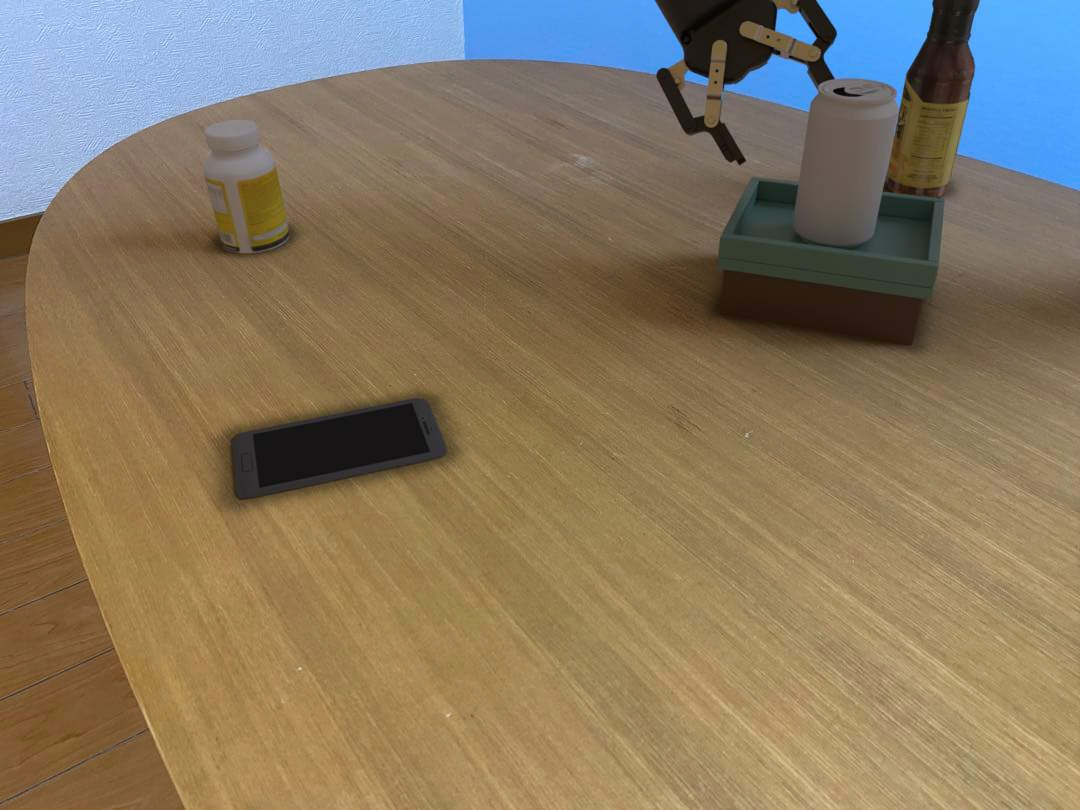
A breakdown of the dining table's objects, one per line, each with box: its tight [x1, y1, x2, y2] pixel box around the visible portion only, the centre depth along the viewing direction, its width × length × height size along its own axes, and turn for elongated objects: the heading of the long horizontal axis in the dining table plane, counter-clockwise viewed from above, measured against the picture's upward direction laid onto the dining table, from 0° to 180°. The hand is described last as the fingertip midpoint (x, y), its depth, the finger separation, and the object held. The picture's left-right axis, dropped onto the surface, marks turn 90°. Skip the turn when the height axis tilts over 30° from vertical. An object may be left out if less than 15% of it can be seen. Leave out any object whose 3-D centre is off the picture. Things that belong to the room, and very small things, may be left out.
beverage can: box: [793, 77, 900, 249], centre depth 73 cm, size 6×6×12 cm
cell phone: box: [230, 397, 448, 501], centre depth 64 cm, size 7×14×1 cm, turn 108°
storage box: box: [716, 176, 946, 346], centre depth 77 cm, size 16×13×8 cm
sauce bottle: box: [886, 0, 981, 198], centre depth 93 cm, size 6×6×20 cm
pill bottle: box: [202, 119, 290, 254], centre depth 88 cm, size 6×6×12 cm
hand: (787, 135), depth 79 cm, fingers open, 8 cm apart
